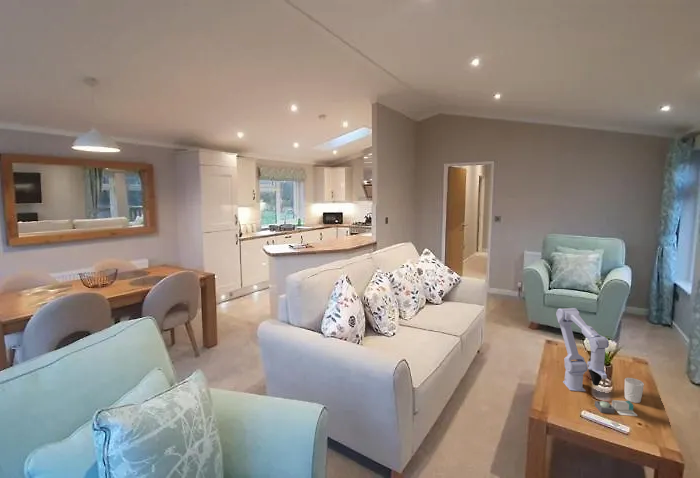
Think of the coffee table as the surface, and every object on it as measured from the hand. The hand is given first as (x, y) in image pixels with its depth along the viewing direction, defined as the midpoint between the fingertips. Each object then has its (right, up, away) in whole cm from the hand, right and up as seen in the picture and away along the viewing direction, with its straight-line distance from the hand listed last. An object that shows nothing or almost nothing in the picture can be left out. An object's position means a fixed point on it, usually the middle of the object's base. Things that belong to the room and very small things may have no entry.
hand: (595, 384), depth 184 cm
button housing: (+1, -11, -4) cm, 12 cm away
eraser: (+10, -10, -4) cm, 15 cm away
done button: (+1, -11, -4) cm, 12 cm away
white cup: (+22, -9, +4) cm, 24 cm away
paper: (+10, -11, -6) cm, 16 cm away
